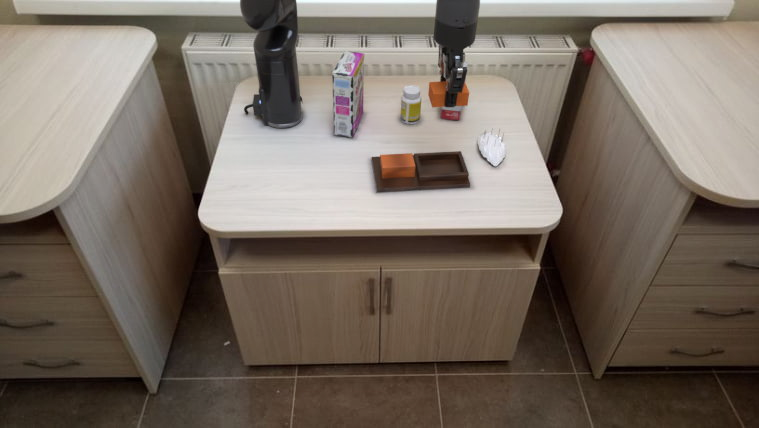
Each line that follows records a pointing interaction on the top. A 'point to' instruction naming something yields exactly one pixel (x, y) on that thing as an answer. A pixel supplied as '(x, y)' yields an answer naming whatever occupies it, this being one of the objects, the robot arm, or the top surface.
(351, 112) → the candy bar box
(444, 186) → the brown wooden tray
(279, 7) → the robot arm
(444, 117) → the ink box
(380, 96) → the top surface
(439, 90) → the loose pad
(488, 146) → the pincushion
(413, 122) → the supplement bottle
